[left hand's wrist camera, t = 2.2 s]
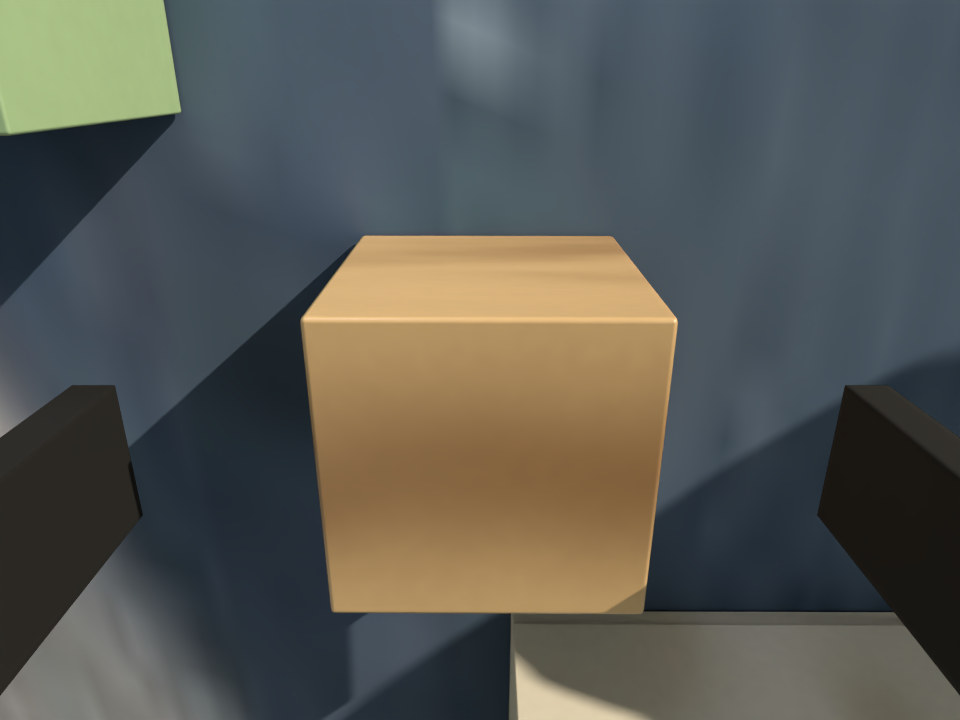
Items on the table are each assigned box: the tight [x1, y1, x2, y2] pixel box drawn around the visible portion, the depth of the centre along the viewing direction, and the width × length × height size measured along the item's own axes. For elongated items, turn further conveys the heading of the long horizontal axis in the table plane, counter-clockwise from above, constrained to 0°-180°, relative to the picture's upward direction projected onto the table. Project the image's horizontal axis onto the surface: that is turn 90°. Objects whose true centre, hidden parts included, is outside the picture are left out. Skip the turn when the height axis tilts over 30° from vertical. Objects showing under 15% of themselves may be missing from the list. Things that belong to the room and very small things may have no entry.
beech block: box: [300, 236, 678, 614], centre depth 13 cm, size 6×6×6 cm
